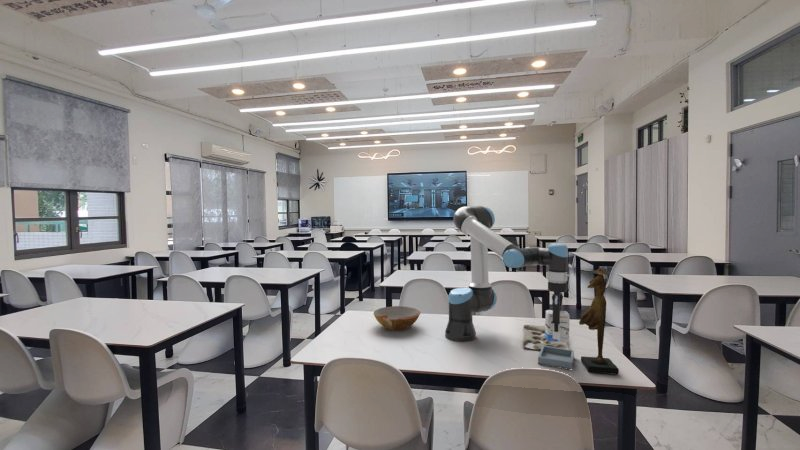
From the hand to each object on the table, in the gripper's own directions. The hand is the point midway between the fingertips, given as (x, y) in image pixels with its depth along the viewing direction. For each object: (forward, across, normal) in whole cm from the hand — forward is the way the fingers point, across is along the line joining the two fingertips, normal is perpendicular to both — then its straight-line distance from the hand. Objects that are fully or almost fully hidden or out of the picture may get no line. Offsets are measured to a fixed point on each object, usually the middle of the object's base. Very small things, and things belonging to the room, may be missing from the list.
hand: (557, 336), depth 153 cm
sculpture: (+11, 0, -15) cm, 18 cm away
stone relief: (+11, +24, +8) cm, 28 cm away
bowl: (+10, +8, +80) cm, 81 cm away
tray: (+10, 0, 0) cm, 10 cm away
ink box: (+2, 0, 0) cm, 2 cm away
